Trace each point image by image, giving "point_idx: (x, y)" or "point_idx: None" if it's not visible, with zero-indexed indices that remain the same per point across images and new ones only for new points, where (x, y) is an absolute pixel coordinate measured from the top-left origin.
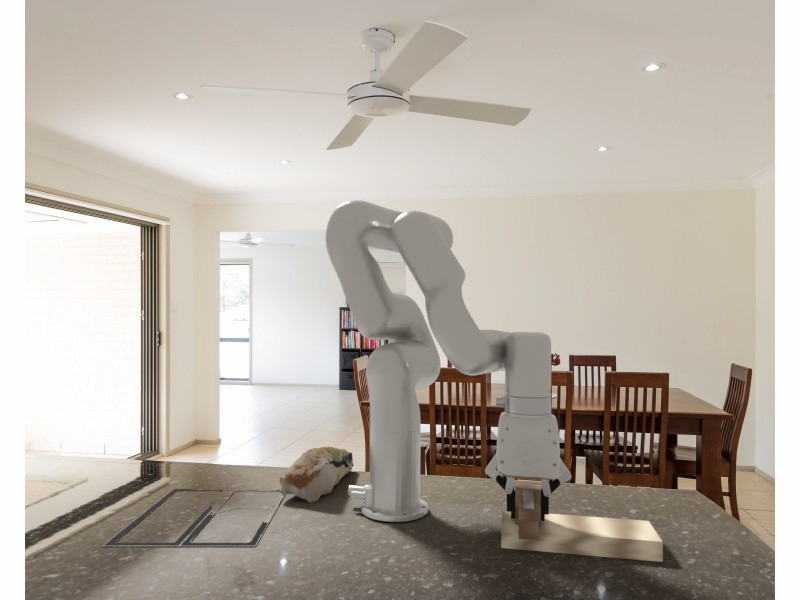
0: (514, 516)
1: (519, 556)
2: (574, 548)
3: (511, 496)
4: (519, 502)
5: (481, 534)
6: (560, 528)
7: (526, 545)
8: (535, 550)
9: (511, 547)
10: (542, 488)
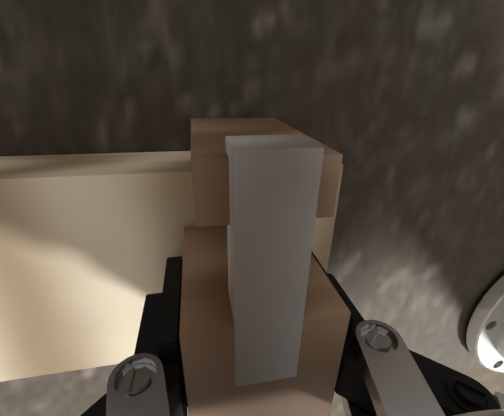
0: None
1: (258, 88)
2: (47, 160)
3: (348, 308)
4: (333, 181)
5: (359, 233)
6: (97, 234)
7: None
8: None
9: None
10: (167, 399)
